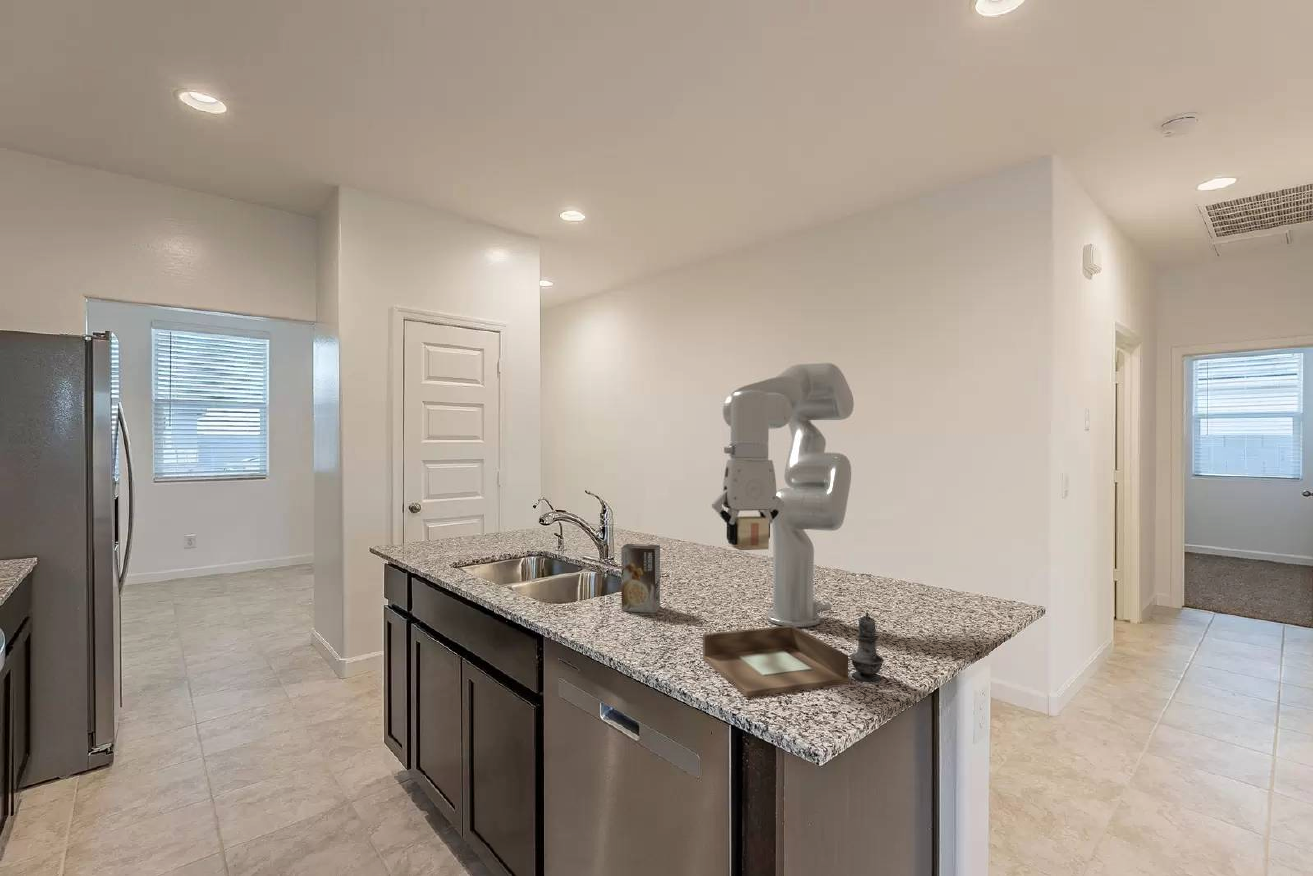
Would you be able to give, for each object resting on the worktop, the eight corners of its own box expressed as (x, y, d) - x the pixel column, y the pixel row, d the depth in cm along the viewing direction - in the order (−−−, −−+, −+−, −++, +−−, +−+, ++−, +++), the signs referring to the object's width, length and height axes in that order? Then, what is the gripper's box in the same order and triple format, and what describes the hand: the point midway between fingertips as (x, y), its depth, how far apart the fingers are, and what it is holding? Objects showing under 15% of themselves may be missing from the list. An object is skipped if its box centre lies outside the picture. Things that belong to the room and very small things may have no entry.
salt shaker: (844, 672, 117) (845, 607, 117) (875, 671, 118) (875, 607, 118) (857, 684, 112) (858, 616, 112) (889, 683, 112) (890, 616, 112)
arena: (792, 649, 130) (792, 625, 130) (848, 683, 112) (848, 655, 112) (702, 659, 123) (703, 634, 123) (746, 697, 105) (746, 667, 105)
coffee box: (661, 607, 162) (661, 544, 162) (655, 613, 156) (656, 548, 156) (626, 604, 164) (627, 543, 164) (620, 611, 158) (620, 547, 158)
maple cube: (768, 549, 123) (769, 518, 123) (740, 550, 121) (740, 519, 121) (755, 544, 129) (755, 515, 129) (728, 545, 127) (728, 515, 127)
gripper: (716, 452, 119) (714, 548, 119) (797, 453, 124) (796, 545, 124) (702, 452, 126) (700, 542, 126) (779, 452, 131) (778, 539, 131)
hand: (748, 542), depth 125 cm, fingers closed on maple cube, 6 cm apart
